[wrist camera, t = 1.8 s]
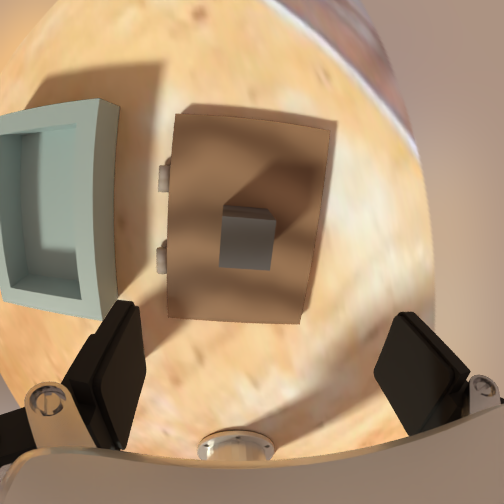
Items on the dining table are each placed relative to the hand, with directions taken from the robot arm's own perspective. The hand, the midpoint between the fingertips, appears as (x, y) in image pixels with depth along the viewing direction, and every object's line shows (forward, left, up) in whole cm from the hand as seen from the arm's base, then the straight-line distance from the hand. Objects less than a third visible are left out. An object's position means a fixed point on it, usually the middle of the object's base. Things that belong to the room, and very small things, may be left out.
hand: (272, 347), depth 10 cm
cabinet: (+1, +20, -19) cm, 28 cm away
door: (0, 0, -19) cm, 19 cm away
